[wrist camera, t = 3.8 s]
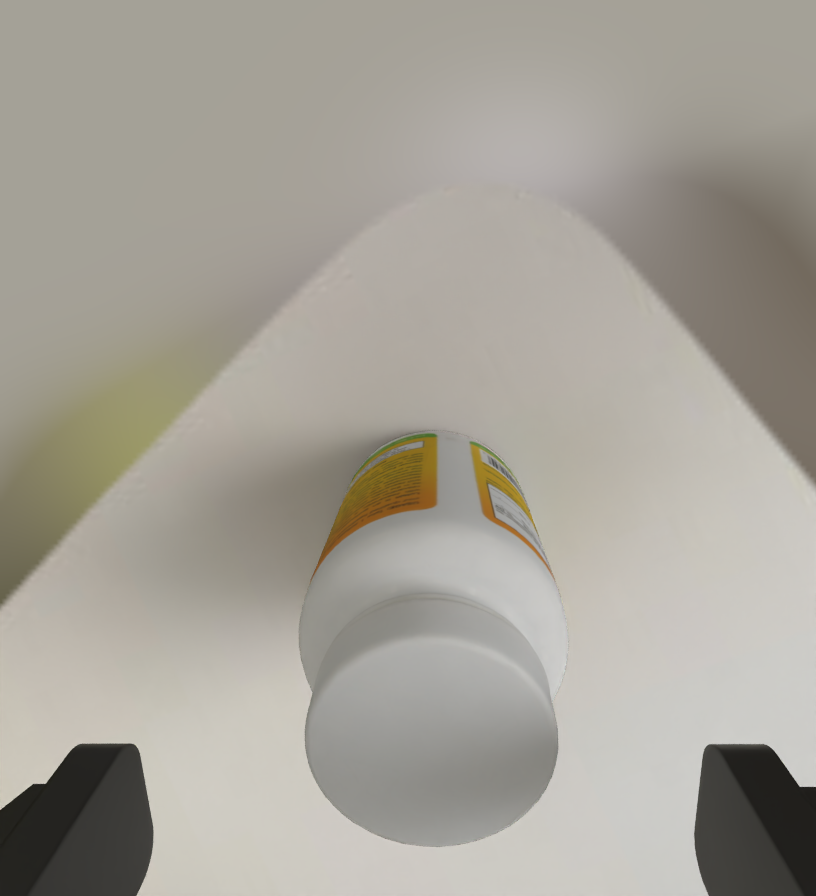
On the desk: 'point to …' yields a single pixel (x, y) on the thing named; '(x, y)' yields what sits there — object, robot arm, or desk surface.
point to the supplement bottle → (433, 647)
